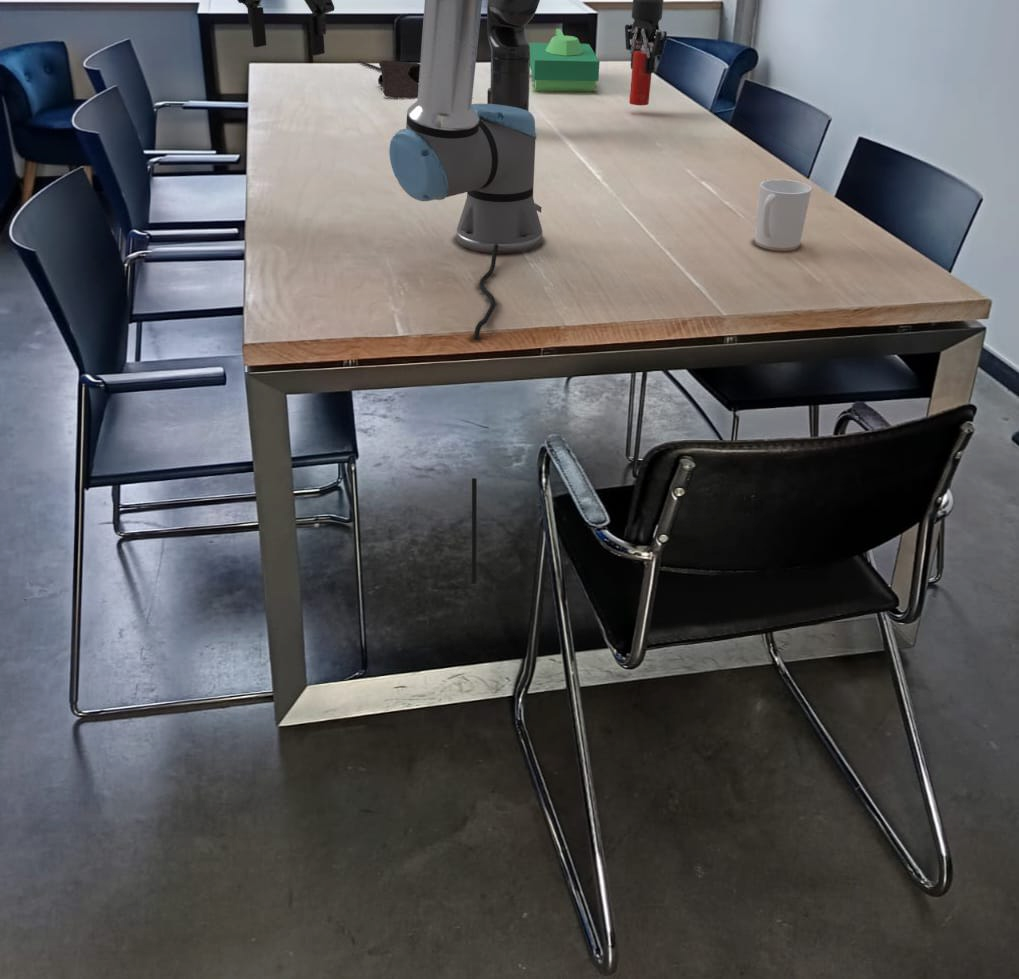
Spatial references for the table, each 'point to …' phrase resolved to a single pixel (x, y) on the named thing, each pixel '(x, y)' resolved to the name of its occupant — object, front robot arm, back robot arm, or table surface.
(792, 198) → the mug
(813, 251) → the table surface
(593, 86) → the toy tank
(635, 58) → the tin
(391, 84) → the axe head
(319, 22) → the front robot arm
